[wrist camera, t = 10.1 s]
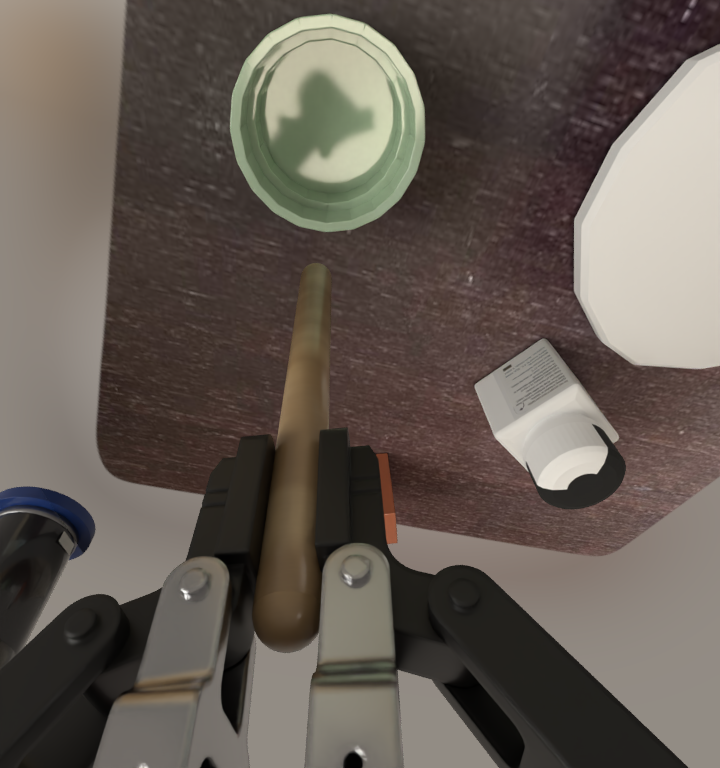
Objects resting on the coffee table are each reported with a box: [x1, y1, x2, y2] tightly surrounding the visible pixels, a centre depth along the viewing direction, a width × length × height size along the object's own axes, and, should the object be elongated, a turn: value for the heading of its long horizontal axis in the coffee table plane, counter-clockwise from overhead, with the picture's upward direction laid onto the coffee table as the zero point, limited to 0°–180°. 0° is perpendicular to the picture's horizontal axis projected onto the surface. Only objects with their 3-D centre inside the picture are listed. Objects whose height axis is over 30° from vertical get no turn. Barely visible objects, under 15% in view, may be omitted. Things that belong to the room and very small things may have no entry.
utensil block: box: [375, 453, 397, 544], centre depth 49 cm, size 4×4×8 cm
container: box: [475, 339, 626, 509], centre depth 42 cm, size 8×8×13 cm
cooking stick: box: [252, 263, 332, 653], centre depth 16 cm, size 1×1×17 cm
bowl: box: [230, 14, 425, 232], centre depth 31 cm, size 11×11×6 cm
